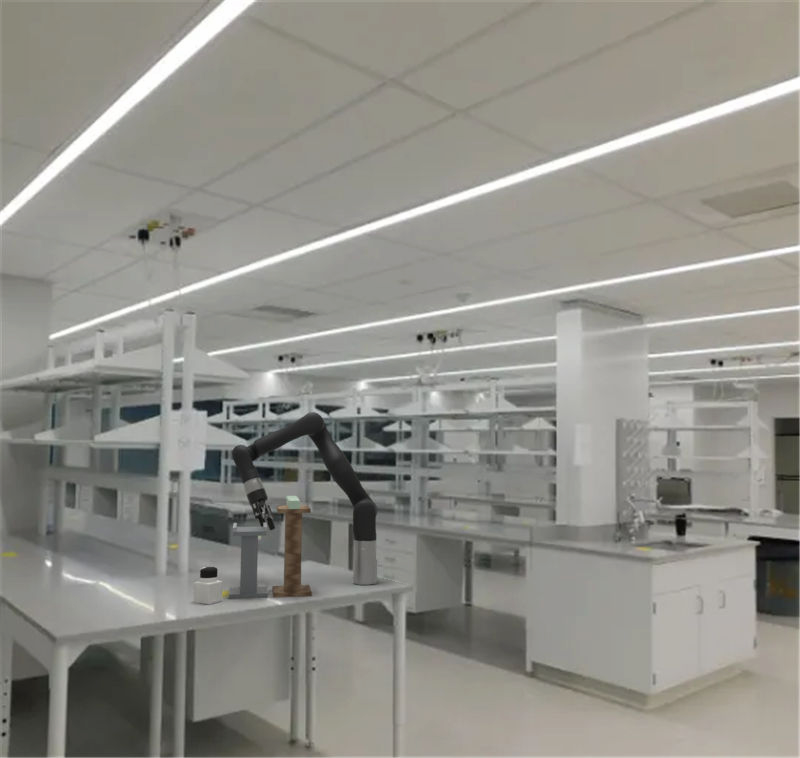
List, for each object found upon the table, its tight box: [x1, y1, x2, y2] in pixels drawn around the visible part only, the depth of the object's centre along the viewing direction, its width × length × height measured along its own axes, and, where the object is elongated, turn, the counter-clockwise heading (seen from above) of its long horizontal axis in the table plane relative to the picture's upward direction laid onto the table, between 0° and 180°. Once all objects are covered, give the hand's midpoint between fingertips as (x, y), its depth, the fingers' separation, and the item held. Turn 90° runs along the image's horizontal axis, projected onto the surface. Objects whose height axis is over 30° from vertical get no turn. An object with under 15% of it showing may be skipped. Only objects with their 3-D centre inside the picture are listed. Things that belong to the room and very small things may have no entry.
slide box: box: [285, 495, 301, 509], centre depth 286 cm, size 4×26×3 cm, turn 11°
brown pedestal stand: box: [271, 504, 313, 598], centre depth 280 cm, size 14×16×32 cm
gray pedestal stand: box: [228, 522, 269, 600], centre depth 276 cm, size 14×16×26 cm
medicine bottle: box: [193, 566, 223, 606], centre depth 262 cm, size 7×7×12 cm
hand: (268, 529), depth 293 cm, fingers open, 8 cm apart
